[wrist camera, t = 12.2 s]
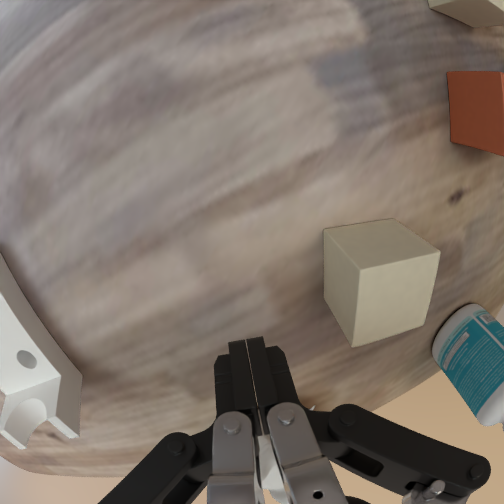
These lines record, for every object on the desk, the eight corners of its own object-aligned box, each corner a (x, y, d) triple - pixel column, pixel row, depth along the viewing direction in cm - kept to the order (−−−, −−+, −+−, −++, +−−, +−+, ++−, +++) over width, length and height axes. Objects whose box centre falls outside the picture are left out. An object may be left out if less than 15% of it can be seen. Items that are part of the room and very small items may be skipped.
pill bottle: (426, 367, 26) (485, 459, 14) (431, 322, 22) (513, 429, 10) (474, 335, 25) (537, 412, 13) (484, 288, 22) (567, 371, 10)
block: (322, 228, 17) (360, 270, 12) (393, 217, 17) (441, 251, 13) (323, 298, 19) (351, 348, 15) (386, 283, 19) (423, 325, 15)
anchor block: (445, 71, 13) (500, 71, 8) (486, 83, 13) (535, 88, 9) (450, 141, 15) (504, 156, 11) (489, 144, 15) (536, 160, 11)
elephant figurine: (335, 409, 26) (362, 480, 18) (240, 450, 28) (249, 516, 20) (293, 368, 22) (324, 465, 14) (181, 419, 24) (182, 503, 16)
